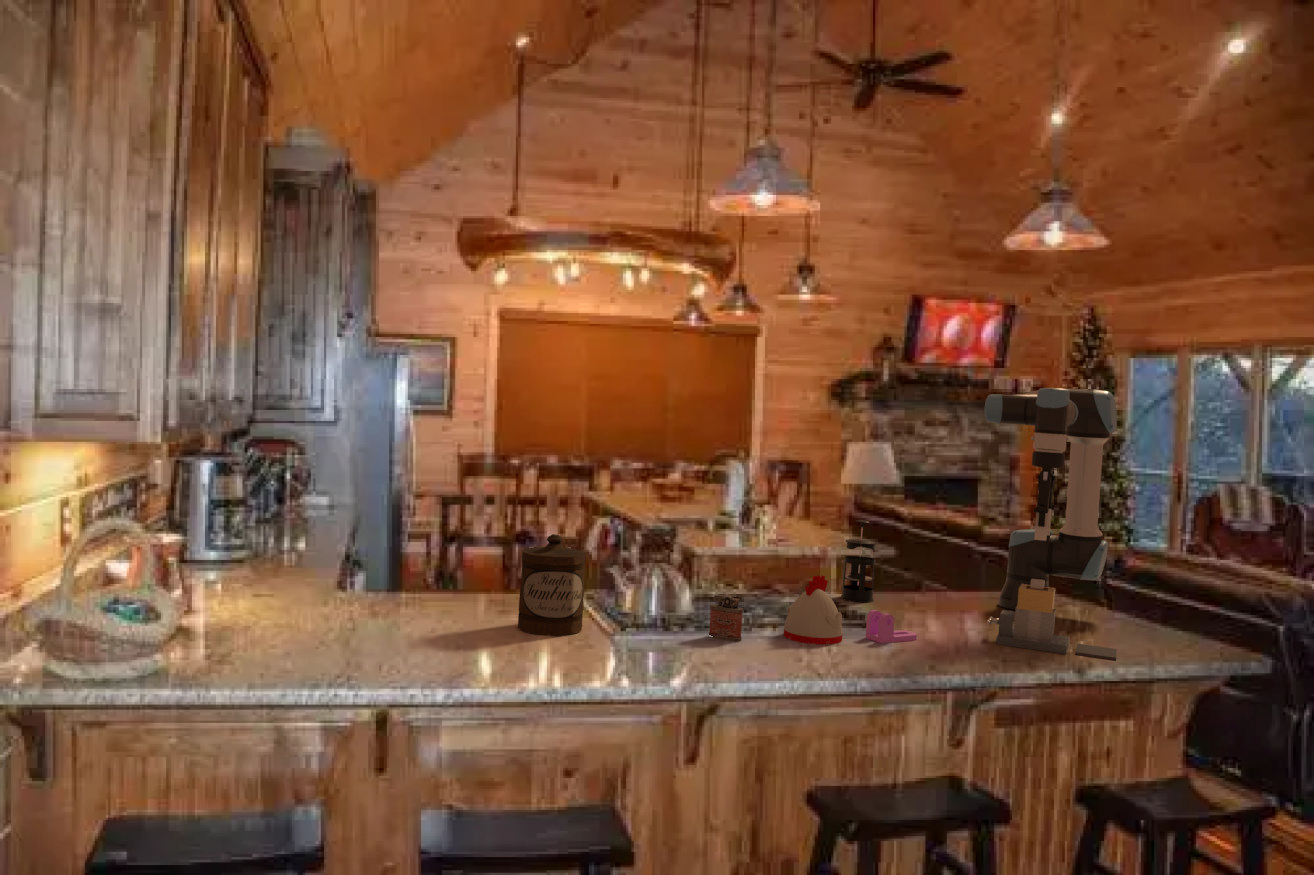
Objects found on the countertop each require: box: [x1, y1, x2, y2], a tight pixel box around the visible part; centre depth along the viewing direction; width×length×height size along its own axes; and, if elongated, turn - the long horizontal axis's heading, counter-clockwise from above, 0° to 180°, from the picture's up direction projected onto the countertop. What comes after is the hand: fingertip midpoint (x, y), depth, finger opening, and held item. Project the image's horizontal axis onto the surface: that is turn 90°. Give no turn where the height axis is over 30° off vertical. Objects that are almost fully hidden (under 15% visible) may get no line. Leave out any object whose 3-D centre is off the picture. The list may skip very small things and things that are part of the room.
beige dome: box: [783, 575, 843, 646], centre depth 261 cm, size 14×14×15 cm
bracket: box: [865, 609, 918, 644], centre depth 266 cm, size 13×6×7 cm, turn 121°
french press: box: [840, 519, 878, 603], centre depth 317 cm, size 12×9×23 cm
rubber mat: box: [1075, 643, 1117, 661], centre depth 264 cm, size 11×9×1 cm
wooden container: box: [517, 533, 586, 637], centre depth 253 cm, size 15×15×22 cm
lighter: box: [708, 594, 744, 643], centre depth 254 cm, size 8×3×10 cm, turn 65°
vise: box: [986, 579, 1070, 655], centre depth 270 cm, size 12×19×16 cm, turn 67°
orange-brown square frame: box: [1017, 584, 1056, 613], centre depth 269 cm, size 8×8×5 cm
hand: (1042, 537), depth 268 cm, fingers open, 13 cm apart
